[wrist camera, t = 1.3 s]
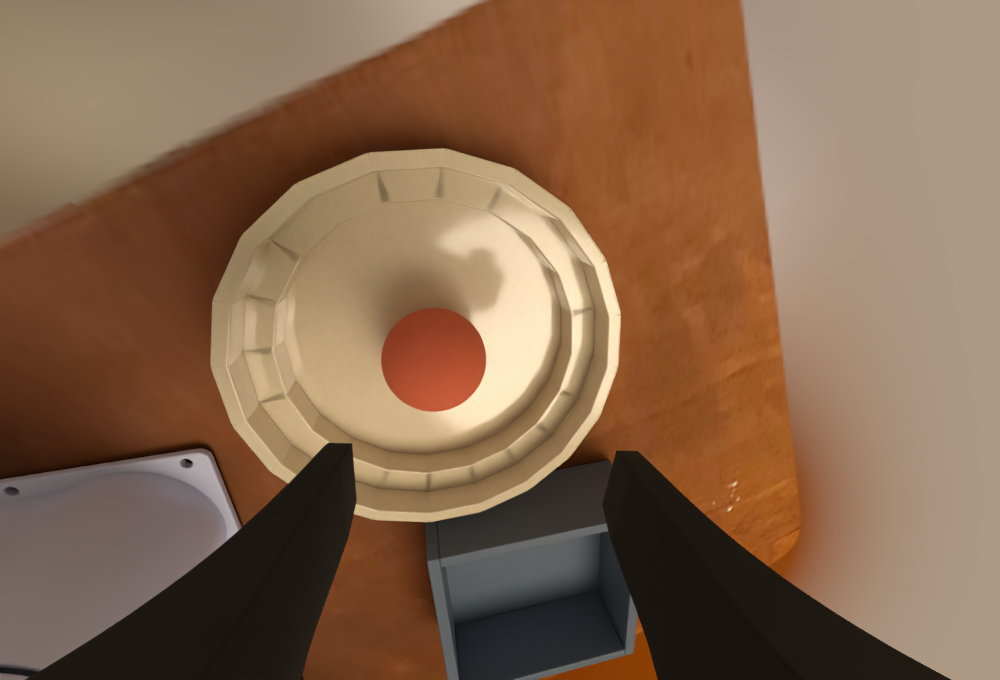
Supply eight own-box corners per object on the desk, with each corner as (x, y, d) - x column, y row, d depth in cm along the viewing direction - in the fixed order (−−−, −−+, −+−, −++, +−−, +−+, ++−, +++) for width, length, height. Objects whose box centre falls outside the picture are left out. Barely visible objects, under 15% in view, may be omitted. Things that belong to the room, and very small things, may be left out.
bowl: (296, 498, 22) (277, 553, 19) (191, 167, 16) (135, 165, 13) (586, 445, 24) (612, 486, 21) (593, 144, 18) (631, 137, 15)
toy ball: (392, 388, 20) (387, 441, 16) (376, 301, 18) (367, 336, 14) (481, 375, 21) (498, 422, 17) (474, 290, 19) (490, 321, 15)
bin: (445, 624, 28) (451, 703, 24) (423, 494, 23) (426, 561, 19) (602, 587, 29) (633, 653, 25) (608, 459, 25) (647, 514, 21)
